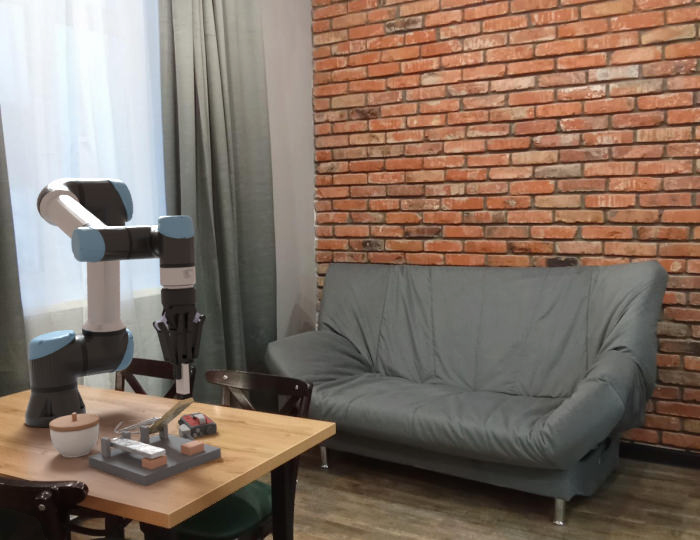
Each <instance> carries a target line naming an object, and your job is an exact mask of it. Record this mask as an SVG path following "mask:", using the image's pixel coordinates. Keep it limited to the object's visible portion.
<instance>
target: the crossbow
mask: <svg viewBox="0 0 700 540" xmlns="http://www.w3.org/2000/svg"><path fill="white" fill-rule="evenodd" d="M161 417H162V416H161ZM161 417H157V416H156V417H155V416H154V417H151V418H148V419H144V418H143V419H141V418H140V422H137V423H134V424H132V425H129V426H126V427H123V428H121V429H118V428H119V427H120V426H121V425H122V424H123V422H124V420H122V421H120V422H119V423H118V424H117V425H116V426H115V428H114V431H113V432H114V434H118V435H122V431H130V432H131V435H132V434H133V435H134V434H140V430H138V431H132V430H135V429H140V426H142V425H145V426H149V425H151V426H152V425H153V424H154V423H155V422H156V421H158V420H159V419H160V418H161ZM142 420H143V421H142ZM130 421H131V422H133V421H135V420H131V419H130V420H129V422H130ZM117 429H118V430H117Z"/></svg>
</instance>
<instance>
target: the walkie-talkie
mask: <svg viewBox="0 0 700 540" xmlns="http://www.w3.org/2000/svg"><path fill="white" fill-rule="evenodd" d="M177 424H178V425H179V426H178V435H179V437H182V438H185V439H189V440H193V441H194V440H196V439H195V438H199V437H204V436H211V435H216V434H217V432H218V431H217V430H218V429H217V428H218V427H217V423H216V422H215V421H213V419H210V417H208V416H207V415H206V414H205V413H201V412H199V411H197V412H192V413H187V414H184V415H181V416H180V417H179V419H178V420H177Z"/></svg>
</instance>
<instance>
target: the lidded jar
mask: <svg viewBox="0 0 700 540" xmlns="http://www.w3.org/2000/svg"><path fill="white" fill-rule="evenodd" d="M48 428H49V434H50V439H51V444H52V446H53V448H54V449H55V451H56V452H57V453H59V454H61V456H62V457H63V458H68V459H69V458H71V459H72V458H79V457H83V456H87V455H88V454H90V453H91V450H92V449H94V447H95V446H96V444H97V443H98V441H99V436H100V416H98V415H97V414H93V413H86V414H77V413H72V415H67V416H63V417H59V418H56V419H54V420H52V421H51V422H50V423H49V427H48Z"/></svg>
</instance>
